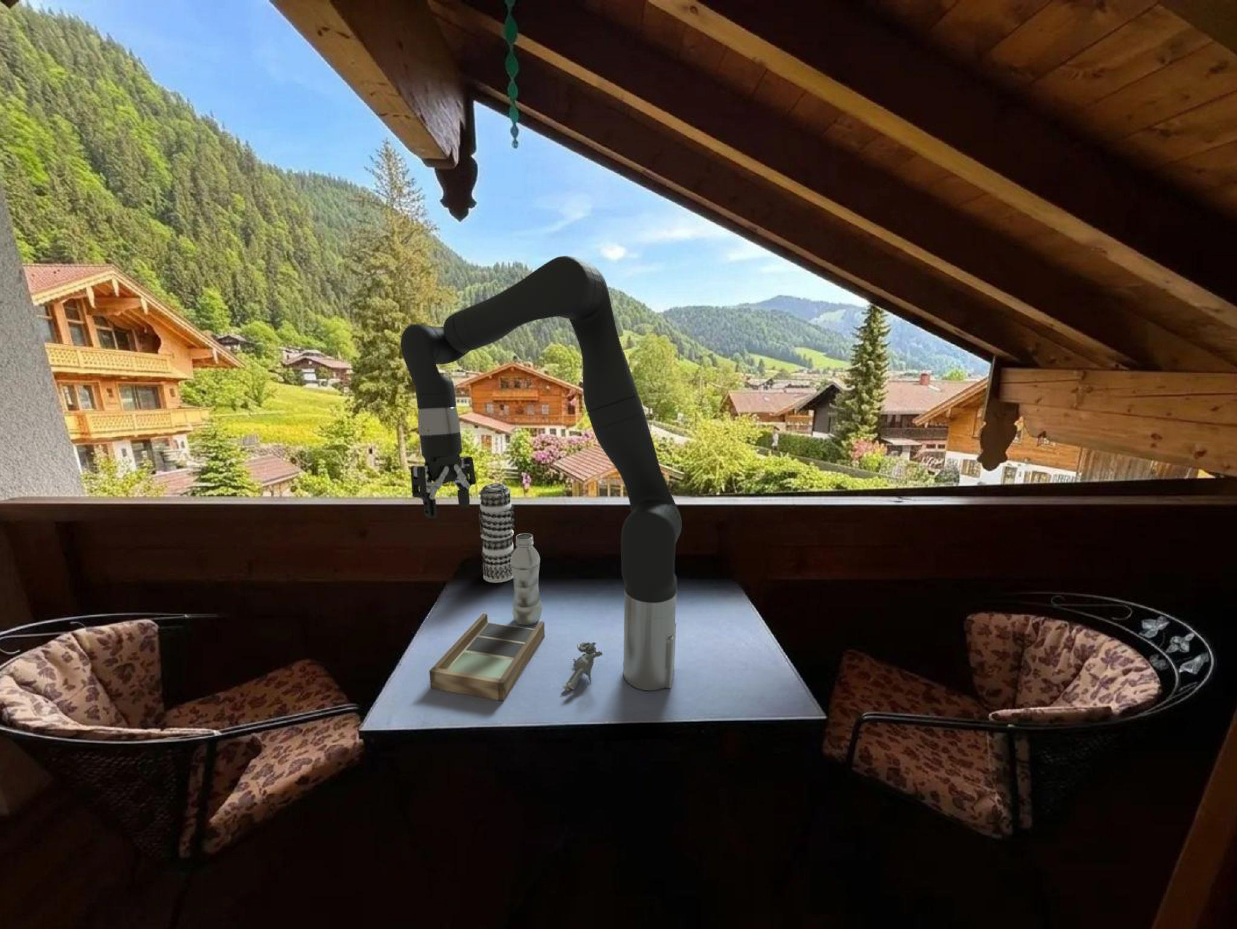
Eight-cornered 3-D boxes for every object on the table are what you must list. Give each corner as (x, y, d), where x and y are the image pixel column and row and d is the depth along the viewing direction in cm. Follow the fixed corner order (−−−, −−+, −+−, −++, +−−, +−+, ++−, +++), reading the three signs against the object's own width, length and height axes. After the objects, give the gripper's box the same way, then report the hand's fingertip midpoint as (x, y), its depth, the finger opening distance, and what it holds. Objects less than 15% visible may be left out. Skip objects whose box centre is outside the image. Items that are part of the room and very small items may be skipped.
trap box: (544, 636, 97) (544, 621, 96) (503, 701, 78) (502, 683, 78) (483, 628, 99) (482, 613, 99) (430, 687, 81) (429, 670, 81)
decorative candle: (512, 583, 119) (508, 491, 113) (477, 583, 119) (471, 490, 113) (520, 567, 128) (517, 481, 122) (487, 567, 128) (482, 480, 122)
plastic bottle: (513, 630, 99) (509, 544, 94) (512, 614, 105) (508, 532, 100) (543, 626, 100) (541, 541, 96) (540, 610, 107) (537, 529, 102)
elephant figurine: (544, 681, 84) (570, 642, 90) (567, 703, 84) (592, 662, 90) (569, 673, 77) (596, 630, 83) (595, 697, 77) (619, 653, 84)
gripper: (424, 434, 81) (434, 523, 84) (480, 428, 94) (487, 505, 96) (395, 435, 85) (405, 520, 87) (452, 428, 97) (460, 503, 100)
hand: (448, 512), depth 92 cm, fingers open, 8 cm apart
